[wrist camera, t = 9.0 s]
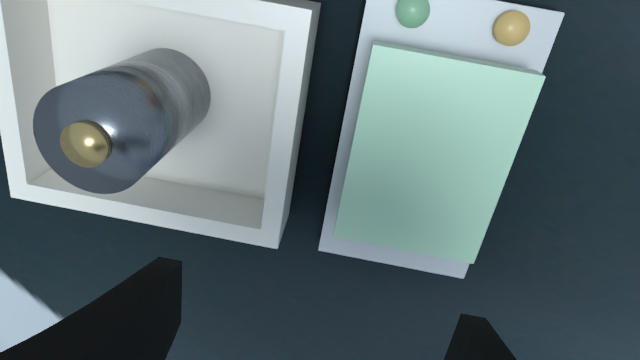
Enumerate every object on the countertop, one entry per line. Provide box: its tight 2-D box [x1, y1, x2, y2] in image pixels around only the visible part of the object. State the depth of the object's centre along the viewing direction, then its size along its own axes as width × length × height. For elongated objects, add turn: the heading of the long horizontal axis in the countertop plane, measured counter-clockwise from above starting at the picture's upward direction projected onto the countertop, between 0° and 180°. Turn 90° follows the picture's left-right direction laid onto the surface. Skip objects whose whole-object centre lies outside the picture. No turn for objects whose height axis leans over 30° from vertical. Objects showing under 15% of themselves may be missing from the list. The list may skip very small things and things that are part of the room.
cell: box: [33, 48, 211, 194], centre depth 16 cm, size 4×4×6 cm
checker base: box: [318, 0, 565, 279], centre depth 19 cm, size 12×7×1 cm, turn 171°
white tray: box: [0, 0, 321, 249], centre depth 18 cm, size 10×12×3 cm
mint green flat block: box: [333, 40, 546, 264], centre depth 18 cm, size 8×6×1 cm
